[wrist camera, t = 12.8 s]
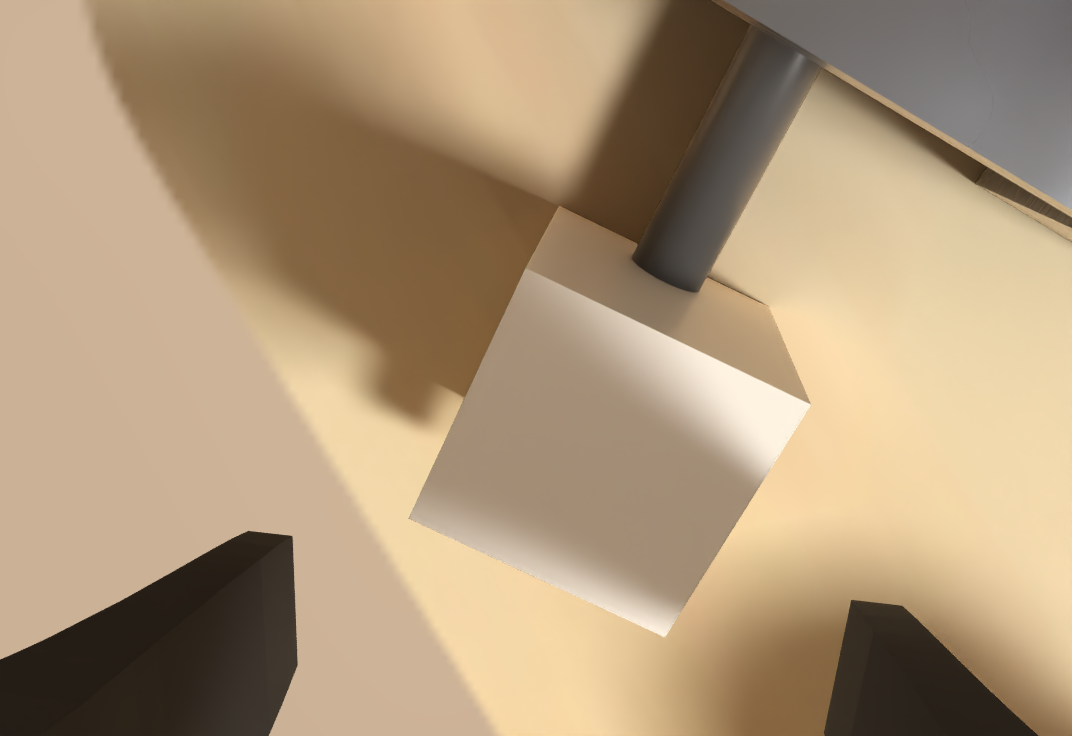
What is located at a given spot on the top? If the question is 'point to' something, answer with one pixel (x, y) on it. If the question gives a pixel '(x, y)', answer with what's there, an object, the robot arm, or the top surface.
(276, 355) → the top surface
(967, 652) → the top surface
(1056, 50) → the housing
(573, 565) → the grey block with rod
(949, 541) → the top surface
